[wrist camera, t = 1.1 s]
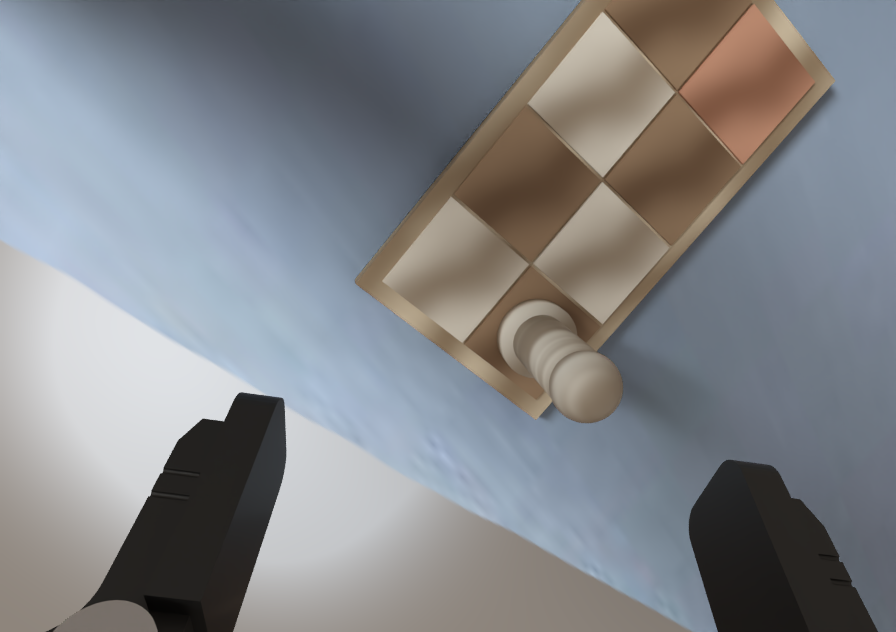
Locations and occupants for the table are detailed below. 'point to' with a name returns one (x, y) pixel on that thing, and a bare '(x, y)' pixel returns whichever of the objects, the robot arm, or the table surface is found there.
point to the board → (595, 173)
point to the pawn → (559, 360)
